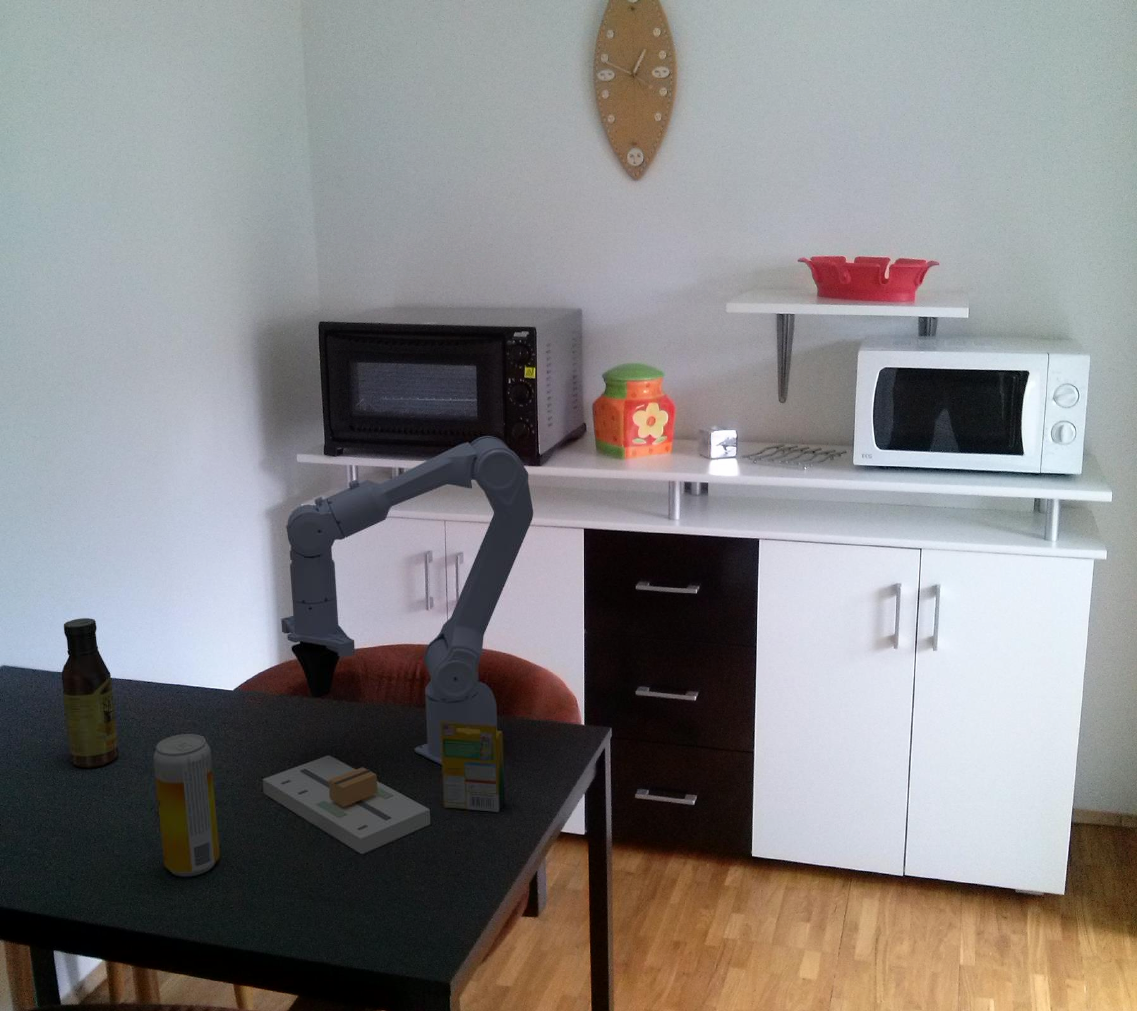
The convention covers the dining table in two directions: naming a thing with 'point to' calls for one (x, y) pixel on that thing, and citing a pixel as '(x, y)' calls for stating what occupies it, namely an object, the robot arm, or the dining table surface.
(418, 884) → the dining table surface
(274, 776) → the fader console
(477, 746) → the crayon box
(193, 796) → the beer can
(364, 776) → the fader knob
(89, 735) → the sauce bottle
